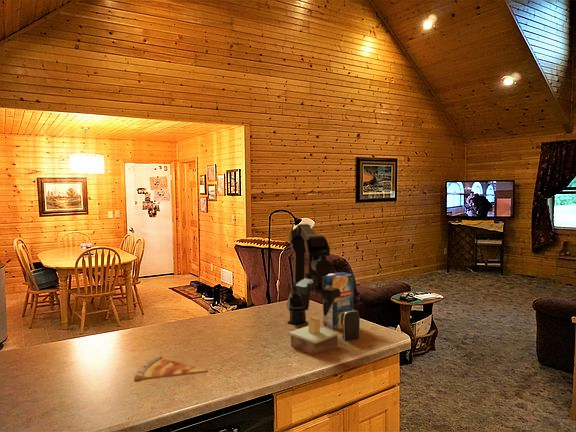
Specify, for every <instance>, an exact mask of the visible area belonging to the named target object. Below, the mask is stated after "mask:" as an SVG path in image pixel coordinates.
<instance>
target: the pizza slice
mask: <svg viewBox="0 0 576 432" xmlns="http://www.w3.org/2000/svg"><path fill="white" fill-rule="evenodd" d="M206 372H208V370H207V369H204V368H200V367H196V366H193V365H190V364H189V365H188V364H184V363H181V362H178V361H174V360H170V359H166V358H164V357H162V356H161V354H156V355H154V356H153V357H151V358H149V359H148V360H147V361H145V362H143V364H142V365H140V367H138V369H137V370H136V372H135V374H133V375H134V376H133V377H134V381H138V380H147V379H148V380H149V379H156V378H158V379H159V378H165V377H174V376H182V375H190V374H197V373H198V374H199V373H200V374H201V373H206Z"/></svg>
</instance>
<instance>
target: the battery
mask: <svg viewBox="0 0 576 432" xmlns="http://www.w3.org/2000/svg"><path fill="white" fill-rule="evenodd" d="M360 316H361V315H360V312H359V311H358V310H356V309H353V310H347V311H343V312H342V314H341V324H342V325H343V329H342V337H341V340H342V341H345V342H348V341H353V340H354V341H355V340H358V339H360V325H361V324H360V323H361V322H360V321H361V317H360Z"/></svg>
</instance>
